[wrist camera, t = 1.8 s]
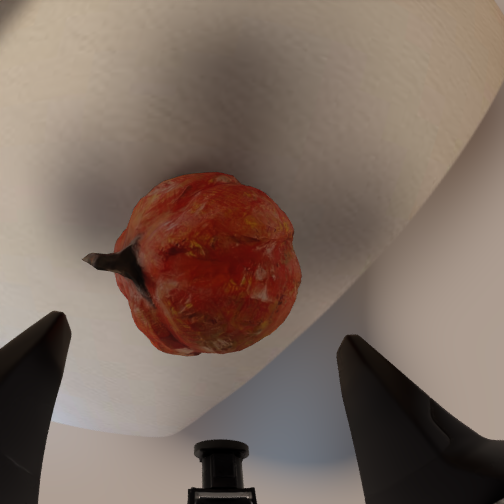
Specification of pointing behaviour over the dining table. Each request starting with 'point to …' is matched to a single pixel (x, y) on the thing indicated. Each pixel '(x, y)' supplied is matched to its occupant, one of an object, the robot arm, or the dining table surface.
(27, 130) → the dining table surface
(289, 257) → the red round fruit
